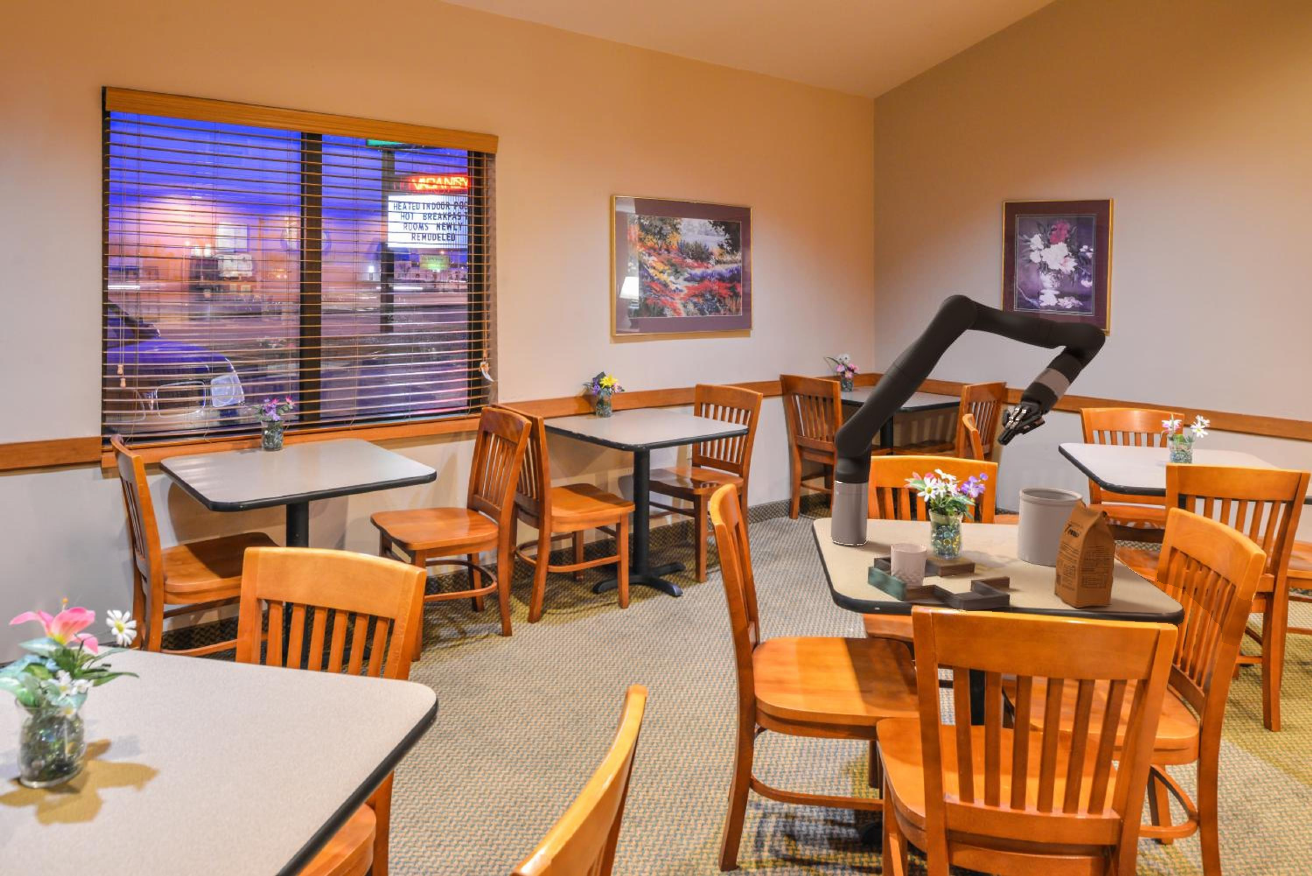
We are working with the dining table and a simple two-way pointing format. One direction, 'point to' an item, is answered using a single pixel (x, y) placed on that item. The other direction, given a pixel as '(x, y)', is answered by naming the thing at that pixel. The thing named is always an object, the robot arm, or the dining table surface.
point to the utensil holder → (1043, 522)
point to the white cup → (908, 563)
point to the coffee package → (1085, 559)
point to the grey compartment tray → (979, 598)
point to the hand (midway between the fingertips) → (1001, 443)
